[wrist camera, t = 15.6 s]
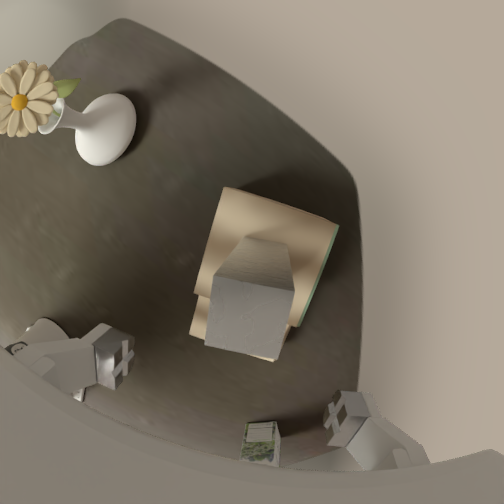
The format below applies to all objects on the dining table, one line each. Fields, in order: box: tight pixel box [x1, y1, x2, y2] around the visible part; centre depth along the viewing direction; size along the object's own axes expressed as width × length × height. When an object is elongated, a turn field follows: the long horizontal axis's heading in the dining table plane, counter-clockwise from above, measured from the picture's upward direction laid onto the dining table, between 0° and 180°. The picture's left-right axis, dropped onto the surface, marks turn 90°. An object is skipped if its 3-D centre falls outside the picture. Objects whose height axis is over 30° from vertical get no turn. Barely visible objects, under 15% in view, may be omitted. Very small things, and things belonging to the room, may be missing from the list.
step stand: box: [189, 187, 339, 362], centre depth 33 cm, size 20×12×8 cm, turn 162°
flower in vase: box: [0, 60, 136, 166], centre depth 23 cm, size 13×11×25 cm
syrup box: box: [240, 421, 281, 467], centre depth 36 cm, size 6×6×14 cm
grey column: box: [204, 236, 295, 360], centre depth 22 cm, size 4×4×14 cm
